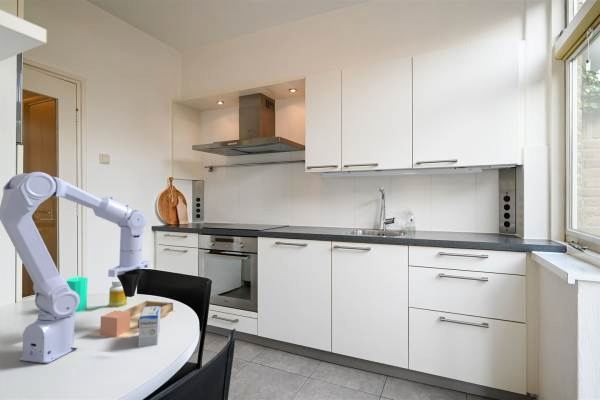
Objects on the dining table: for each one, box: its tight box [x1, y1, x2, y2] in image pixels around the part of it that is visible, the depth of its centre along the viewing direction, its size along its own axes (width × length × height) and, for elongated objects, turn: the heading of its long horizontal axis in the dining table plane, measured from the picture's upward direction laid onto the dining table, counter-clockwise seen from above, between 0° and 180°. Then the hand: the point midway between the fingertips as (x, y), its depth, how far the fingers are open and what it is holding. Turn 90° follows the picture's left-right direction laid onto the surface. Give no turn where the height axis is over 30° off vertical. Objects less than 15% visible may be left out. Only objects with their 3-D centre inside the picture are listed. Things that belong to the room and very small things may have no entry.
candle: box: [66, 274, 88, 313], centre depth 107 cm, size 6×6×12 cm
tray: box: [87, 300, 175, 340], centre depth 94 cm, size 23×12×4 cm, turn 170°
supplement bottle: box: [108, 278, 128, 308], centre depth 109 cm, size 5×5×10 cm
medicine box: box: [138, 306, 161, 348], centre depth 82 cm, size 8×4×9 cm, turn 21°
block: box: [99, 310, 130, 337], centre depth 86 cm, size 5×5×5 cm
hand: (129, 296), depth 91 cm, fingers closed
